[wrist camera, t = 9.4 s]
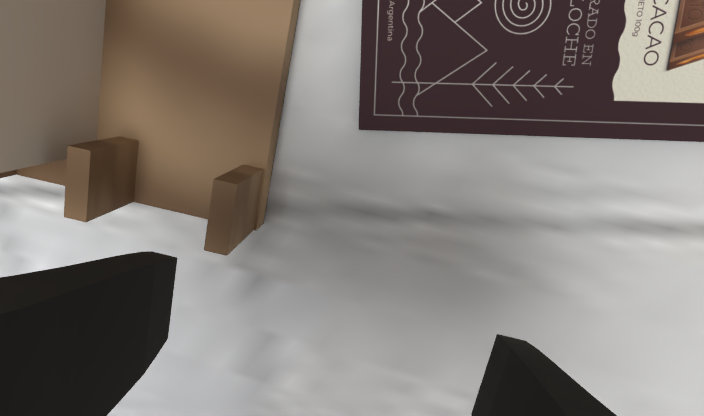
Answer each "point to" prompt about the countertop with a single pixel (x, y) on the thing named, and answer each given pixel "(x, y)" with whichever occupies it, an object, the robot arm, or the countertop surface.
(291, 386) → the countertop surface
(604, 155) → the countertop surface
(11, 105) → the clay slab
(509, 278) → the countertop surface
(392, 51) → the chocolate bar
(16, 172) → the pegged wooden tray
